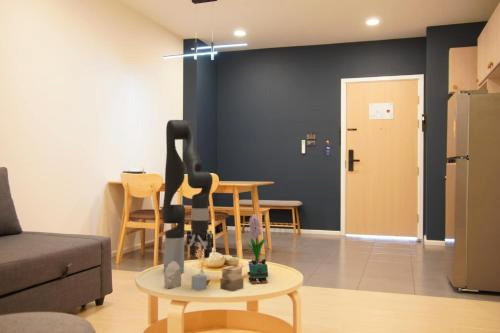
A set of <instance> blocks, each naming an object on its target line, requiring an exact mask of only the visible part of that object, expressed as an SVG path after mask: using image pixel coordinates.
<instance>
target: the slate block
mask: <svg viewBox="0 0 500 333" xmlns="http://www.w3.org/2000/svg"><path fill="white" fill-rule="evenodd" d="M207 278H208V277H207V275H204V274H200V273H198V274H196V275H192V276H191V290H194V291H198V292H200V291H204V290H207V284H208V282H207V280H208V279H207Z"/></svg>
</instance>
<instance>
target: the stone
mask: <svg viewBox="0 0 500 333" xmlns="http://www.w3.org/2000/svg"><path fill="white" fill-rule="evenodd" d="M163 279H164V281H163V282H164V289H165V288H167V289H166V290H170V289H169V288H171V289H174V287H175V288H178V287H180V286H181V284H182V273H181V271H180V267H179V264H178V263H177V262H175V261H172V262H171V263H170V264H169V265H168V267H167V268H166V270H165V272H164V278H163Z"/></svg>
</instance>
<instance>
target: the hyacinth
mask: <svg viewBox="0 0 500 333" xmlns="http://www.w3.org/2000/svg"><path fill="white" fill-rule="evenodd" d="M261 225H262V224H261V219H260V217H259V216H258V215H257V214H255V213H254V214H252V215H251V216H250V218H249V232H250V237H251V238H250V243H251V245H250V243H247V242H246V245H248V246H249V247H250V249H251V250H252V252H253V255H254V257H255V258H254V260H255V261H257V262H256V264H258V265H260V264H262V262H261V260H262V259H260V254H261V249H262V247H263V245H264V244H265V242H266V239H265V238H263V239H261V241H259V242H258V238H259V236H260V237H261V236H262V229H261ZM254 238H255V240H254ZM252 264H253V262H252V260H248V269H249V270H248V272H250V265H252ZM257 280H258V278H257Z"/></svg>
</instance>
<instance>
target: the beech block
mask: <svg viewBox="0 0 500 333" xmlns="http://www.w3.org/2000/svg"><path fill="white" fill-rule="evenodd" d="M221 273H222V274H221V278H222V279H227V280H231V281H234V280H237V279H240V278H243V268H242V267H239V266H237V265H236V266H235V265H229V266H228V265H227V266H225V267H222V268H221Z"/></svg>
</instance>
